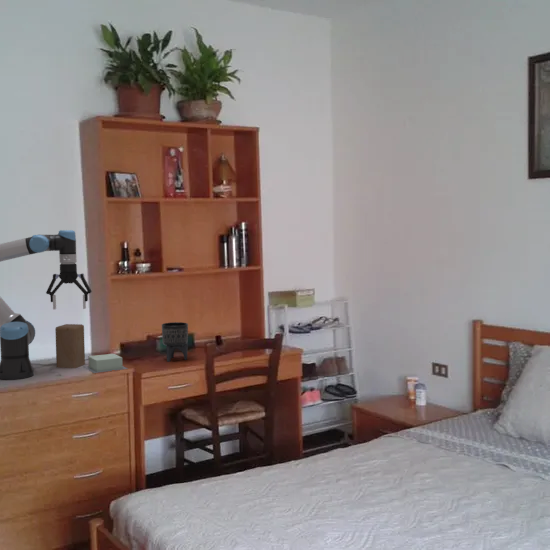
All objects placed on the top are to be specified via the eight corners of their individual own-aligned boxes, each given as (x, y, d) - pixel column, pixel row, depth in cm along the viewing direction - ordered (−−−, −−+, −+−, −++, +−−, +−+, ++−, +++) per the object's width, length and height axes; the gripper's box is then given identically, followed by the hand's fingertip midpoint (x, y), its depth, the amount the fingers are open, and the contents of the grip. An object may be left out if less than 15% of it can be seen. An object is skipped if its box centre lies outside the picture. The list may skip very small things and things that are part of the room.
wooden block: (75, 370, 310) (74, 327, 309) (55, 369, 312) (54, 326, 311) (85, 365, 320) (84, 324, 318) (66, 365, 322) (65, 323, 320)
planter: (177, 363, 324) (176, 326, 323) (156, 360, 331) (156, 324, 330) (193, 358, 335) (193, 323, 334) (173, 356, 342) (173, 321, 341)
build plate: (93, 375, 300) (93, 372, 299) (83, 368, 313) (83, 366, 313) (128, 370, 308) (128, 368, 308) (116, 364, 322) (116, 362, 321)
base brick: (96, 371, 302) (96, 360, 302) (88, 367, 312) (88, 356, 312) (122, 368, 309) (122, 357, 308) (113, 363, 319) (113, 353, 318)
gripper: (38, 264, 307) (40, 310, 309) (94, 263, 310) (95, 309, 311) (42, 263, 315) (44, 308, 316) (96, 262, 317) (98, 307, 319)
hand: (69, 308), depth 314 cm, fingers open, 13 cm apart
